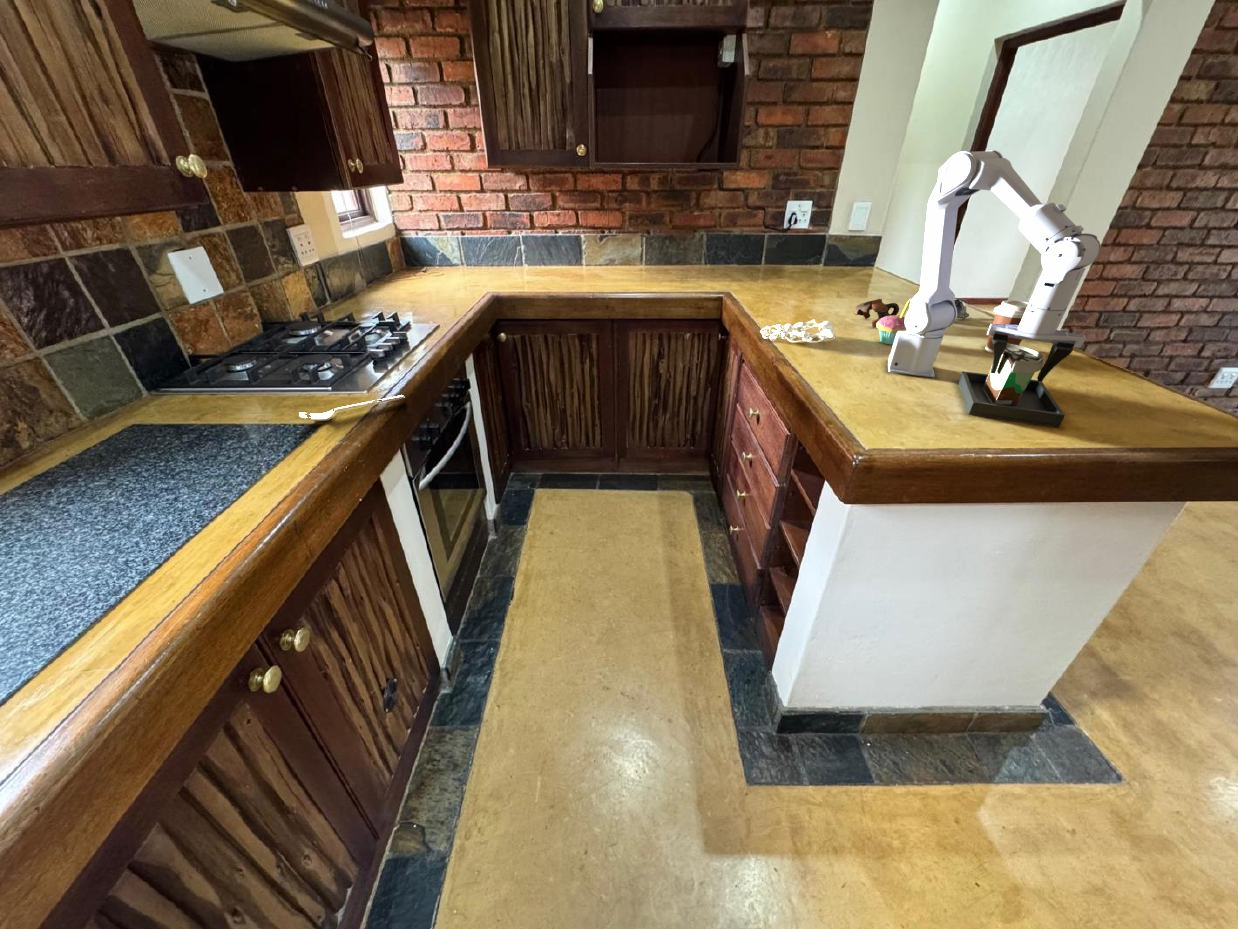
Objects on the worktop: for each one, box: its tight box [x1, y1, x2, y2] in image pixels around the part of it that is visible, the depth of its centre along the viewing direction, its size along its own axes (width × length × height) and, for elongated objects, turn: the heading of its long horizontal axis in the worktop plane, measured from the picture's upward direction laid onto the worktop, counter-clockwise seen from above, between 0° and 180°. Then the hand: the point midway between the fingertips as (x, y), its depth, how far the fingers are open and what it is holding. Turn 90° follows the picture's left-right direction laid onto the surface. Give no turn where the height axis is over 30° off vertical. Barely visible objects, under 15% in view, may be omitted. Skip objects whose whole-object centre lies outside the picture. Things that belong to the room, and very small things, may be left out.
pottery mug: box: [854, 298, 900, 329], centre depth 146 cm, size 12×10×8 cm
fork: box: [298, 394, 406, 422], centre depth 102 cm, size 3×20×2 cm, turn 122°
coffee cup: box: [984, 299, 1029, 354], centre depth 123 cm, size 9×9×12 cm
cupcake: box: [876, 297, 912, 346], centre depth 130 cm, size 9×8×12 cm
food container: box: [983, 343, 1044, 407], centre depth 97 cm, size 12×6×10 cm, turn 158°
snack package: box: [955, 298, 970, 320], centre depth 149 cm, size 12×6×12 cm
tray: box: [957, 371, 1066, 429], centre depth 100 cm, size 15×18×3 cm
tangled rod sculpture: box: [760, 318, 836, 344], centre depth 135 cm, size 19×14×4 cm
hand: (1015, 375), depth 97 cm, fingers open, 7 cm apart
